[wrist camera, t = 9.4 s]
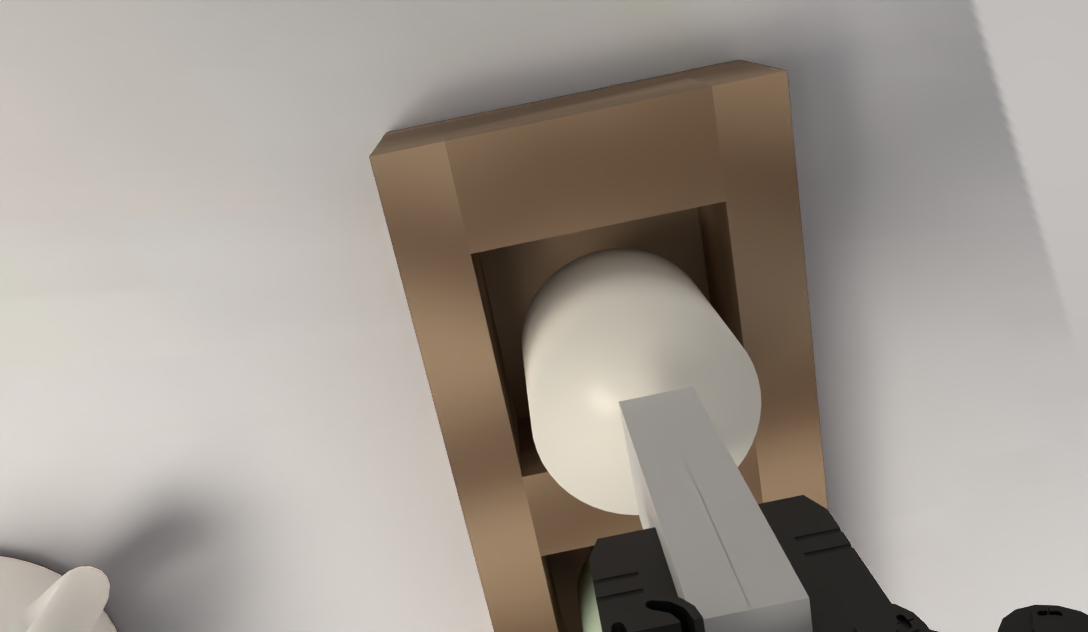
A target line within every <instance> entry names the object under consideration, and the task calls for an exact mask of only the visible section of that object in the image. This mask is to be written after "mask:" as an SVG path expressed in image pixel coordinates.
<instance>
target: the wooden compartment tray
mask: <svg viewBox="0 0 1088 632" xmlns="http://www.w3.org/2000/svg"><path fill="white" fill-rule="evenodd" d="M369 158H370V162H371V166H372V169H373V173H374V177H375V181H376V185H377V188H378V192H379V196H380V200H381V204H382V207H383V211H384V215H385V219H386V223H387V226H388V230H389V234H390V238H391V242H392V245H393V249H394V253H395V257H396V261H397V264H398V268H399V272H400V276H401V280H402V283H403V287H404V291H405V295H406V299H407V302H408V306H409V310H410V314H411V318H412V321H413V325H414V329H415V333H416V337H417V340H418V344H419V348H420V352H421V356H422V359H423V363H424V367H425V371H426V375H427V378H428V382H429V386H430V390H431V393H432V397H433V401H434V405H435V409H436V412H437V416H438V420H439V424H440V428H441V431H442V435H443V439H444V443H445V447H446V450H447V454H448V458H449V462H450V466H451V469H452V473H453V477H454V481H455V485H456V488H457V492H458V496H459V500H460V504H461V507H462V511H463V515H464V519H465V523H466V526H467V530H468V534H469V538H470V542H471V545H472V549H473V553H474V557H475V561H476V564H477V568H478V572H479V576H480V580H481V583H482V587H483V591H484V595H485V599H486V602H487V606H488V610H489V614H490V618H491V621H492V625H493V629H494V632H583V628H582V622H581V615H580V609H579V603H578V596H577V584H578V578H579V574H580V571H581V568H582V566H583V564H584V562H585V560H586V558H587V557H588V555H589V554H590V552H591V551H592V550H593V548H594V546H595V543H596V541H597V539H599V538H604V537H609V536H614V535H619V534H624V533H629V532H634V531H638V530H643V527H642V524H641V521H640V517H639V515H626V514H618V513H613V512H608V511H604V510H601V509H598V508H595V507H593V506H590V505H588V504H586V503H584V502H582V501H580V500H579V499H577V498H576V497H574V496H572V495H571V494H569V493H568V492H567V491H566V490H565V489H564V488H562V487H561V486H560V485H559V484H558V483H557V482H556V481H555V480H554V478H553V477H552V476H551V475H550V474H549V472H548V471H547V469H546V468H545V466H544V465H543V463H542V461H541V459H540V457H539V454H538V452H537V450H536V446H535V443H534V440H533V434H532V427H531V420H530V412H529V403H528V395H527V387H526V379H525V370H524V362H523V354H522V331H523V324H524V321H525V317H526V314H527V311H528V309H529V306H530V304H531V302H532V300H533V299H534V297H535V295H536V294H537V292H538V291H539V289H540V288H541V287H542V286H543V284H544V283H545V282H546V281H547V280H548V279H549V278H550V277H551V276H552V275H553V274H554V273H555V272H556V271H558V270H559V269H560V268H562V267H563V266H564V265H566V264H568V263H569V262H571V261H573V260H575V259H577V258H579V257H581V256H584V255H586V254H589V253H593V252H596V251H600V250H606V249H613V248H629V249H637V250H642V251H646V252H650V253H653V254H656V255H658V256H661V257H663V258H665V259H667V260H668V261H670V262H672V263H674V264H675V265H676V266H678V267H679V268H680V269H682V270H683V271H684V272H685V273H686V274H687V275H688V276H689V277H690V278H691V279H692V281H693V282H694V283H695V285H696V286H697V287H698V288H699V290H700V291H701V292H702V294H703V295H704V296H705V298H706V299H707V300H708V302H709V303H710V304H711V306H712V307H713V308H714V310H715V311H716V312H717V313H718V315H719V316H720V317H721V319H722V320H723V321H724V323H725V324H726V325H727V327H728V328H729V329H730V331H731V332H732V333H733V335H734V336H735V337H736V339H737V340H738V341H739V342H740V344H741V345H742V347H743V348H744V349H745V351H746V352H747V354H748V355H749V357H750V359H751V361H752V363H753V365H754V368H755V370H756V373H757V376H758V380H759V385H760V390H761V413H760V421H759V425H758V429H757V433H756V435H755V438H754V440H753V443H752V445H751V447H750V449H749V451H748V453H747V455H746V456H745V458H744V459H743V461H742V462H741V464H740V465H739V466H738V469H739V471H740V473H741V475H742V476H743V478H744V480H745V482H746V484H747V485H748V487H749V489H750V491H751V493H752V495H753V496H754V498H755V500H756V502H757V504H760V503H765V502H770V501H775V500H780V499H785V498H790V497H795V496H800V495H805V496H806V497H808V498H809V499H811V500H813V501H814V502H816V503H818V504H819V505H821V506H823V507H824V508H826V509H827V510H828V507H827V496H826V485H825V474H824V464H823V453H822V442H821V431H820V420H819V410H818V399H817V388H816V377H815V366H814V356H813V345H812V334H811V323H810V312H809V302H808V291H807V280H806V269H805V258H804V248H803V237H802V226H801V215H800V204H799V194H798V183H797V172H796V161H795V151H794V140H793V129H792V118H791V107H790V97H789V86H788V75H787V70H782V69H778V68H774V67H769V66H765V65H761V64H756V63H752V62H748V61H743V60H736V61H731V62H726V63H721V64H716V65H711V66H707V67H702V68H697V69H692V70H687V71H682V72H677V73H673V74H668V75H663V76H658V77H653V78H648V79H644V80H639V81H634V82H629V83H624V84H619V85H614V86H610V87H605V88H600V89H595V90H590V91H585V92H581V93H576V94H571V95H566V96H561V97H556V98H551V99H547V100H542V101H537V102H532V103H527V104H522V105H517V106H513V107H508V108H503V109H498V110H493V111H488V112H484V113H479V114H474V115H469V116H464V117H459V118H454V119H450V120H445V121H440V122H435V123H430V124H425V125H421V126H416V127H411V128H406V129H401V130H396V131H391V132H387V133H386V134H385V135H384V136H383V138H382V139H381V141H380V142H379V144H378V145H377V146H376V148H375V149H374V151H373V152H372V153H371V155H370V156H369Z"/></svg>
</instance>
